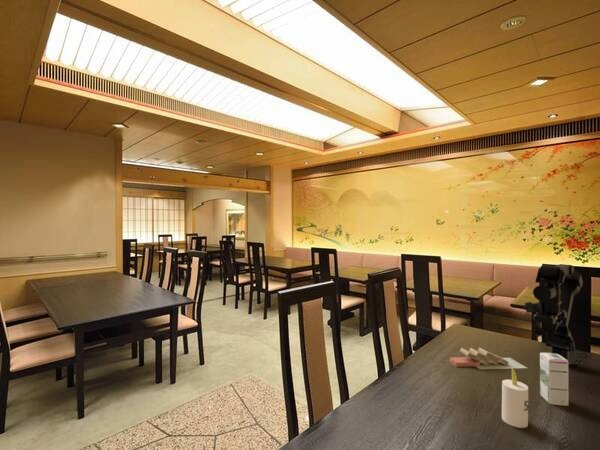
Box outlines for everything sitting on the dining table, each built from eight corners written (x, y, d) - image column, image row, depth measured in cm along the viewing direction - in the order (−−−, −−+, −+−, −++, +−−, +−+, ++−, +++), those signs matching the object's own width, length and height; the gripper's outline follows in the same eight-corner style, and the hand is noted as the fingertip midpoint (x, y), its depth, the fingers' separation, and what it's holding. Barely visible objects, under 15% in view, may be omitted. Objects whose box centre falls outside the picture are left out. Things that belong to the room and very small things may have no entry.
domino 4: (500, 356, 134) (479, 347, 134) (508, 362, 129) (487, 352, 129) (498, 360, 134) (477, 350, 133) (507, 365, 129) (485, 355, 128)
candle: (519, 430, 88) (520, 376, 88) (496, 417, 94) (497, 366, 94) (533, 425, 91) (534, 372, 91) (510, 412, 97) (511, 363, 97)
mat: (509, 358, 137) (509, 357, 137) (527, 368, 127) (527, 368, 127) (464, 359, 136) (464, 358, 136) (479, 369, 126) (479, 369, 126)
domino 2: (482, 357, 134) (461, 347, 133) (490, 362, 129) (468, 352, 128) (480, 360, 134) (459, 351, 133) (488, 366, 129) (466, 356, 128)
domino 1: (472, 357, 133) (449, 357, 133) (480, 362, 128) (456, 362, 128) (472, 360, 133) (449, 361, 133) (480, 366, 128) (456, 366, 128)
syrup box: (569, 406, 101) (569, 360, 101) (548, 404, 102) (548, 358, 102) (558, 396, 106) (559, 353, 106) (538, 394, 107) (539, 351, 107)
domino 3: (490, 357, 134) (470, 347, 133) (499, 362, 129) (477, 352, 128) (489, 360, 134) (468, 351, 133) (497, 365, 129) (476, 356, 128)
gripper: (534, 291, 138) (534, 327, 138) (518, 296, 127) (517, 336, 127) (567, 296, 129) (567, 334, 129) (552, 302, 118) (552, 344, 118)
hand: (550, 337), depth 126 cm, fingers closed
